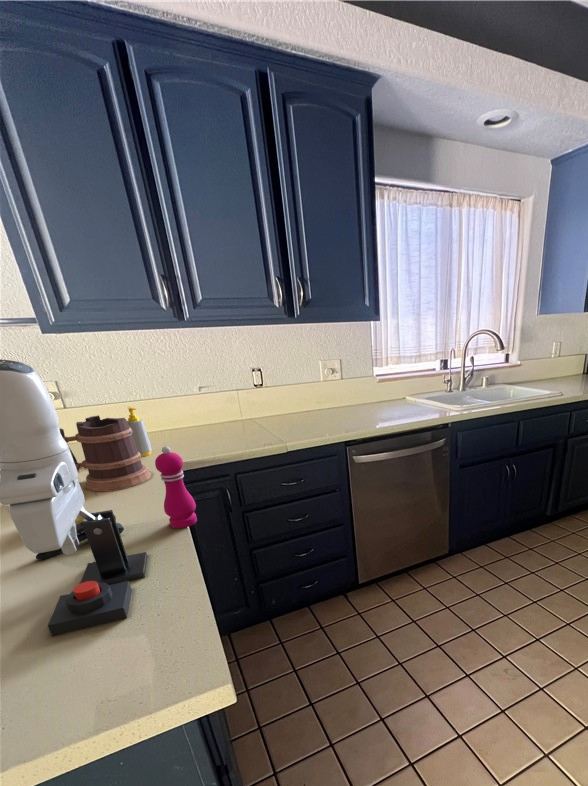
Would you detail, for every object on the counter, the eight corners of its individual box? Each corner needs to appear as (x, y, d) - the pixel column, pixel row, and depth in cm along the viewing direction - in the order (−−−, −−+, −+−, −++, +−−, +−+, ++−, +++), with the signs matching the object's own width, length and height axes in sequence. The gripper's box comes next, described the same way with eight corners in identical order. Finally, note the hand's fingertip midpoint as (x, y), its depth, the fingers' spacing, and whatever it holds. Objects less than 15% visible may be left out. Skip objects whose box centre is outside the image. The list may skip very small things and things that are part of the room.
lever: (43, 502, 76) (54, 493, 76) (50, 492, 80) (60, 484, 80) (100, 538, 82) (109, 530, 82) (104, 528, 86) (113, 520, 86)
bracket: (81, 591, 82) (58, 532, 77) (89, 568, 90) (69, 513, 84) (144, 577, 86) (127, 520, 81) (147, 556, 93) (131, 503, 88)
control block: (52, 636, 71) (43, 616, 69) (64, 605, 78) (56, 587, 76) (127, 617, 74) (120, 599, 73) (131, 590, 82) (126, 572, 80)
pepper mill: (185, 514, 113) (167, 441, 104) (205, 519, 110) (188, 444, 101) (162, 526, 107) (140, 449, 98) (182, 531, 104) (162, 452, 95)
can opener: (116, 527, 107) (109, 506, 105) (128, 534, 103) (121, 513, 100) (30, 556, 95) (21, 533, 92) (40, 566, 91) (30, 543, 88)
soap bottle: (138, 458, 159) (124, 410, 151) (129, 455, 163) (116, 407, 155) (156, 453, 164) (144, 406, 156) (147, 450, 168) (135, 404, 160)
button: (74, 603, 73) (70, 594, 72) (78, 592, 76) (75, 583, 75) (98, 597, 74) (95, 589, 73) (101, 586, 77) (98, 578, 76)
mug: (68, 481, 138) (46, 420, 129) (146, 467, 149) (130, 409, 141) (71, 499, 124) (46, 432, 115) (156, 481, 136) (139, 419, 127)
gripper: (35, 456, 73) (64, 528, 78) (-9, 498, 55) (31, 586, 61) (78, 451, 75) (103, 521, 81) (48, 490, 58) (82, 576, 64)
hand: (72, 550), depth 71 cm, fingers closed
